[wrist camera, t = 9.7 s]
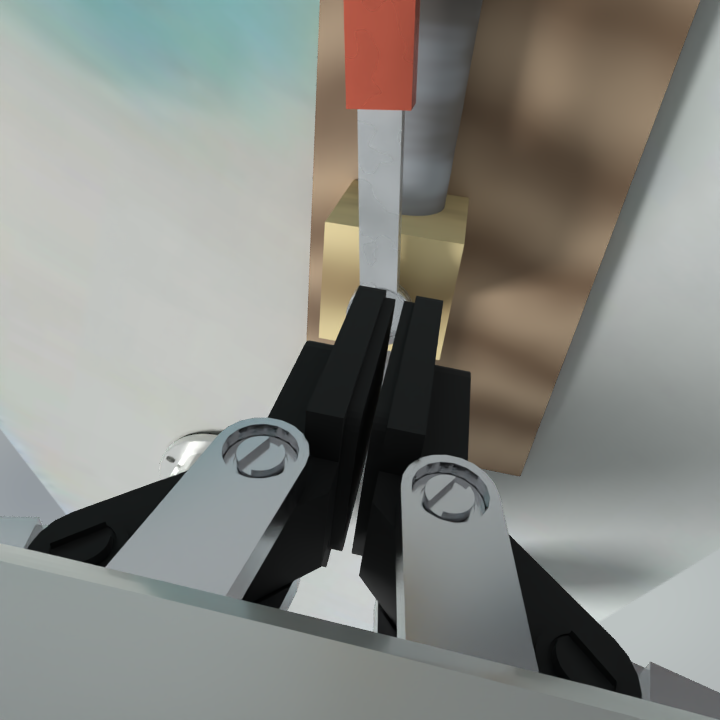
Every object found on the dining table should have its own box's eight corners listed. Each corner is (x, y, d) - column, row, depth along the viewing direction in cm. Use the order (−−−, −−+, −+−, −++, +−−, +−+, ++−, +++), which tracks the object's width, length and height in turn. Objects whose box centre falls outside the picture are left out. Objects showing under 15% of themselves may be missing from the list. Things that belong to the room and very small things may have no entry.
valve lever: (411, 334, 29) (408, 350, 28) (352, 328, 30) (346, 344, 28) (429, -28, 20) (425, -28, 19) (344, -27, 21) (334, -27, 19)
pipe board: (519, 463, 45) (524, 562, 38) (307, 420, 47) (272, 506, 40) (729, -105, 24) (837, -142, 17) (333, -142, 26) (268, -189, 19)
